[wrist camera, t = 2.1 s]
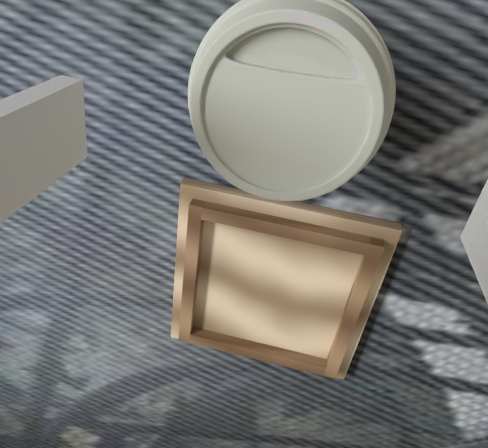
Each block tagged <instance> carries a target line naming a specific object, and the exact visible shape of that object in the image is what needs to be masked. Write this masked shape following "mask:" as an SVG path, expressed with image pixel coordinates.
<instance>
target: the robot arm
mask: <svg viewBox="0 0 488 448" xmlns="http://www.w3.org/2000/svg"><path fill="white" fill-rule="evenodd" d="M86 158H87V145H86V127H85V109H84V91H83V79H78V78H73V77H68V76H63V75H60V76H58V77H55V78H53V79H50V80H48V81H45V82H43V83H40V84H38V85H36V86H33V87H31V88H28V89H26V90H23V91H21V92H18V93H16V94H14V95H11V96H9V97H6V98H4V99H1V100H0V224H1V223H2V222H4V221H5V220H6V219H8V218H9V217H10V216H11V215H13V214H14V213H15V212H17V211H18V210H19V209H21V208H22V207H23V206H24V205H26V204H27V203H28V202H30V201H31V200H32V199H34V198H35V197H36V196H37V195H39V194H40V193H41V192H43V191H44V190H45V189H47V188H48V187H49V186H50V185H52V184H53V183H54V182H56V181H57V180H58V179H60V178H61V177H62V176H63V175H65V174H66V173H67V172H69V171H70V170H71V169H73V168H74V167H75V166H76V165H78V164H79V163H80V162H82V161H83V160H84V159H86ZM460 239H461V241H462V243H463V246H464V248H465V251H466V253H467V255H468V258H469V260H470V263H471V265H472V268H473V270H474V272H475V275H476V277H477V280H478V282H479V284H480V287H481V289H482V292H483V294H484V297H485V299H486V301H487V304H488V179H487V181H486V183H485V186H484V188H483V190H482V192H481V194H480V196H479V198H478V200H477V202H476V204H475V207H474V209H473V211H472V213H471V215H470V217H469V219H468V221H467V223H466V225H465V228H464V230H463V232H462V234H461V236H460Z"/></svg>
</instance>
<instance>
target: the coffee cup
mask: <svg viewBox="0 0 488 448" xmlns="http://www.w3.org/2000/svg"><path fill="white" fill-rule="evenodd" d="M395 97H396V82H395V73H394V68H393V64H392V60H391V57H390V54H389V51H388V49H387V47H386V45H385V43H384V41H383V39H382V37H381V35H380V34H379V32H378V31H377V29H376V28H375V27H374V25H373V24H372V23H371V22H370V21H369V20H368V18H367V17H366V16H365V15H364V14H362V13H361V12H360V11H359V10H358V9H357V8H355V7H354V6H353V5H351V4H350V3H348V2H347V1H345V0H241V1H239V2H238V3H236V4H235V5H233V6H232V7H231V8H229V9H228V10H227V11H226V12H225V13H223V14H222V15H221V16H220V17H219V18H218V19H217V20H216V22H215V23H214V24H213V25H212V26H211V28H210V29H209V30H208V32H207V33H206V35H205V37H204V38H203V40H202V42H201V44H200V46H199V48H198V51H197V53H196V55H195V58H194V61H193V64H192V67H191V71H190V76H189V83H188V106H189V113H190V118H191V122H192V126H193V130H194V134H195V137H196V139H197V142H198V144H199V146H200V148H201V150H202V152H203V153H204V155H205V157H206V158H207V160H208V161H209V162H210V164H211V165H212V166H213V167H214V168H215V170H216V171H217V172H218V173H219V174H220V175H221V176H223V177H224V178H225V179H226V180H227V181H229V182H230V183H232V184H233V185H234V186H236V187H238V188H240V189H241V190H243V191H245V192H247V193H250V194H252V195H255V196H258V197H261V198H265V199H269V200H275V201H301V200H307V199H311V198H315V197H319V196H321V195H324V194H327V193H329V192H331V191H333V190H335V189H337V188H338V187H340V186H341V185H343V184H344V183H346V182H347V181H348V180H350V179H351V178H352V177H354V176H355V175H356V174H357V173H358V172H360V171H361V170H362V169H363V168H364V167H365V166H366V165H367V164H368V163H369V162H370V160H371V159H372V158H373V157H374V155H375V154H376V152H377V151H378V149H379V148H380V146H381V144H382V142H383V140H384V138H385V136H386V134H387V131H388V128H389V125H390V122H391V119H392V116H393V111H394V106H395Z"/></svg>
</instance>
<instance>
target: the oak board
mask: <svg viewBox="0 0 488 448" xmlns="http://www.w3.org/2000/svg"><path fill="white" fill-rule="evenodd" d="M401 234H402V226H401V223H396V222H392V221H387V220H382V219H378V218H373V217H368V216H363V215H359V214H354V213H349V212H344V211H340V210H335V209H330V208H326V207H321V206H316V205H311V204H307V203H302V202H297V201H275V200H269V199H265V198H261V197H258V196H255V195H252V194H250V193H247V192H245V191H243V190H241V189H236V188H231V187H226V186H222V185H217V184H212V183H207V182H203V181H198V180H193V179H189V178H184V179H183V181H182V182H181V184H180V200H179V215H178V231H177V247H176V262H175V278H174V294H173V310H172V325H171V337H173V338H177V339H178V340H180V341H184V342H188V343H192V344H196V345H201V346H205V347H209V348H213V349H217V350H221V351H225V352H229V353H233V354H237V355H241V356H245V357H249V358H254V359H258V360H262V361H266V362H270V363H274V364H278V365H282V366H286V367H290V368H294V369H298V370H302V371H307V372H311V373H315V374H319V375H323V376H327V377H331V378H340V379H344V378H345V375H346V373H347V370H348V368H349V365H350V363H351V360H352V358H353V355H354V352H355V350H356V347H357V345H358V342H359V340H360V337H361V335H362V332H363V330H364V327H365V325H366V322H367V320H368V317H369V315H370V312H371V309H372V307H373V304H374V302H375V299H376V297H377V294H378V292H379V289H380V287H381V284H382V282H383V279H384V277H385V274H386V272H387V269H388V266H389V264H390V261H391V259H392V256H393V254H394V251H395V249H396V246H397V244H398V241H399V239H400V236H401Z"/></svg>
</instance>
